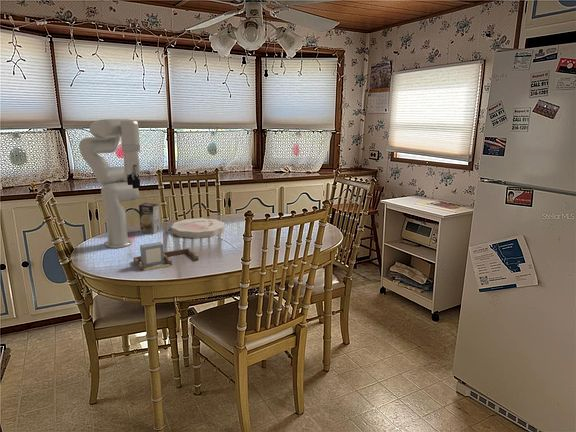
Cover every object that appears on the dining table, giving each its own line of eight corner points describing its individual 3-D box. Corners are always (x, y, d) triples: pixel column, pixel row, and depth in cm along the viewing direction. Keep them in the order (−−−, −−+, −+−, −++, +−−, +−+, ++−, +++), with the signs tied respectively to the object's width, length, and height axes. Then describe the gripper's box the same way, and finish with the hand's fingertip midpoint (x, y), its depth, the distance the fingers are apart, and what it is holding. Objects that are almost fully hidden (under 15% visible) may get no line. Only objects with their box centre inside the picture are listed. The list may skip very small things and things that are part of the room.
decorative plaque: (160, 226, 230) (197, 216, 255) (160, 232, 231) (197, 221, 256) (200, 235, 215) (235, 223, 240) (200, 241, 216) (235, 229, 241)
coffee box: (139, 232, 229) (137, 205, 225) (146, 229, 235) (144, 202, 231) (154, 234, 227) (152, 206, 223) (160, 231, 233) (158, 203, 229)
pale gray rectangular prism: (141, 264, 182) (139, 245, 180) (161, 260, 187) (160, 241, 185) (143, 267, 179) (142, 247, 177) (164, 263, 184) (163, 244, 182)
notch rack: (133, 261, 185) (133, 255, 185) (188, 251, 199) (188, 246, 198) (141, 271, 174) (140, 265, 173) (199, 260, 188) (198, 255, 187)
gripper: (118, 147, 185) (121, 184, 190) (126, 150, 171) (129, 190, 176) (135, 146, 189) (137, 183, 194) (144, 150, 175) (147, 188, 180)
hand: (133, 186), depth 185 cm, fingers open, 9 cm apart
